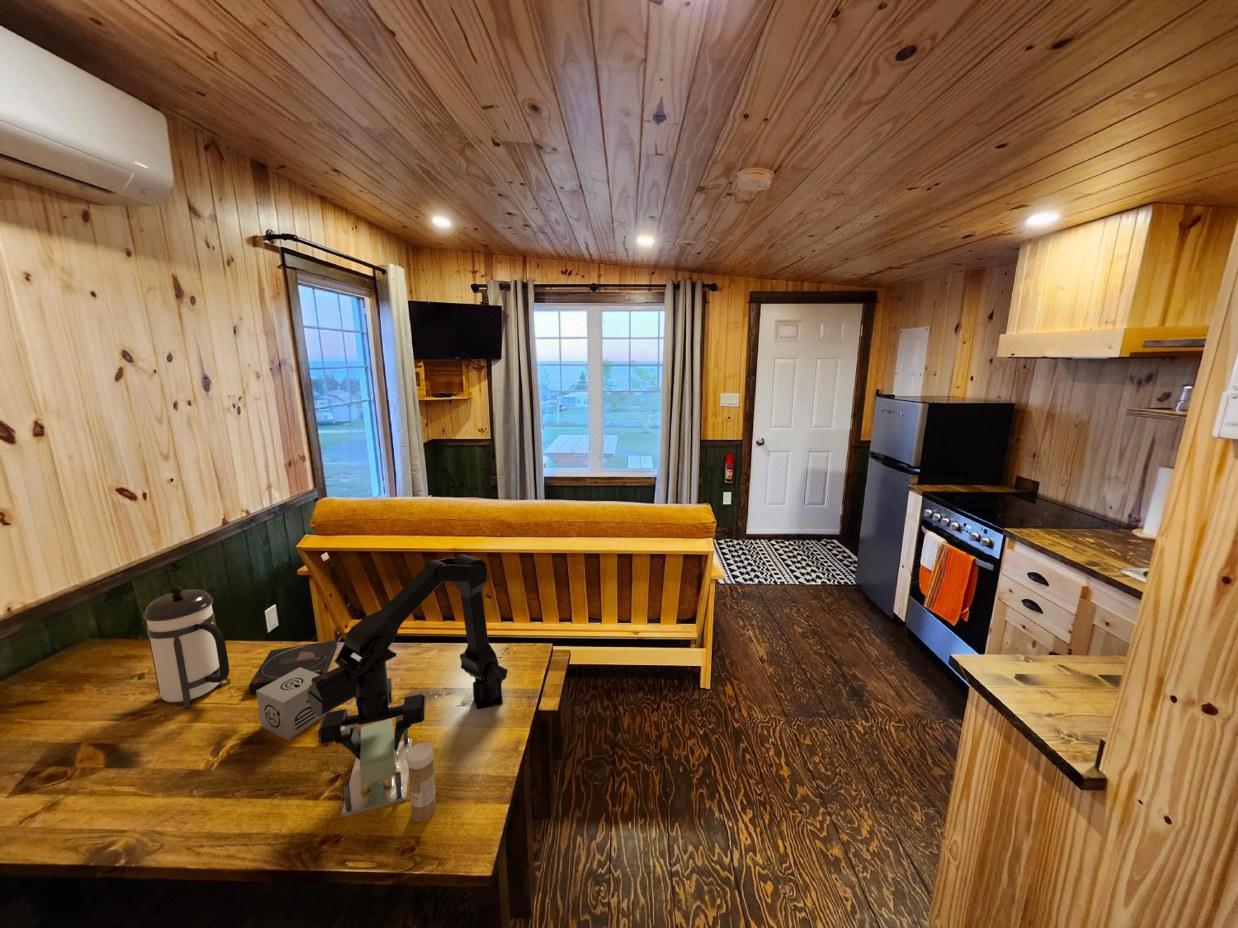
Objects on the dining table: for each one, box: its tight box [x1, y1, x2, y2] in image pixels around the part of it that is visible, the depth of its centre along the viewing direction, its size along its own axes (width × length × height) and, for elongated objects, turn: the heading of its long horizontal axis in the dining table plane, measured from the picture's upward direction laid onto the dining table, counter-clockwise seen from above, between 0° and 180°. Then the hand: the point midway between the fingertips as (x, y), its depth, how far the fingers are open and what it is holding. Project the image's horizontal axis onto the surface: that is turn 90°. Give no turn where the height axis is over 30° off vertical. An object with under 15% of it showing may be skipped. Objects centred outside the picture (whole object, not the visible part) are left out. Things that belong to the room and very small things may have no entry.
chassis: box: [341, 728, 413, 818], centre depth 97 cm, size 16×11×6 cm
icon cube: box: [255, 667, 332, 741], centre depth 112 cm, size 10×10×10 cm
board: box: [360, 718, 396, 787], centre depth 96 cm, size 12×6×4 cm, turn 28°
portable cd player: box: [248, 639, 338, 696], centre depth 132 cm, size 16×17×4 cm
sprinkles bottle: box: [407, 742, 438, 823], centre depth 88 cm, size 5×5×14 cm
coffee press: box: [142, 585, 231, 711], centre depth 120 cm, size 17×16×30 cm
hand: (378, 753), depth 96 cm, fingers closed on board, 6 cm apart
